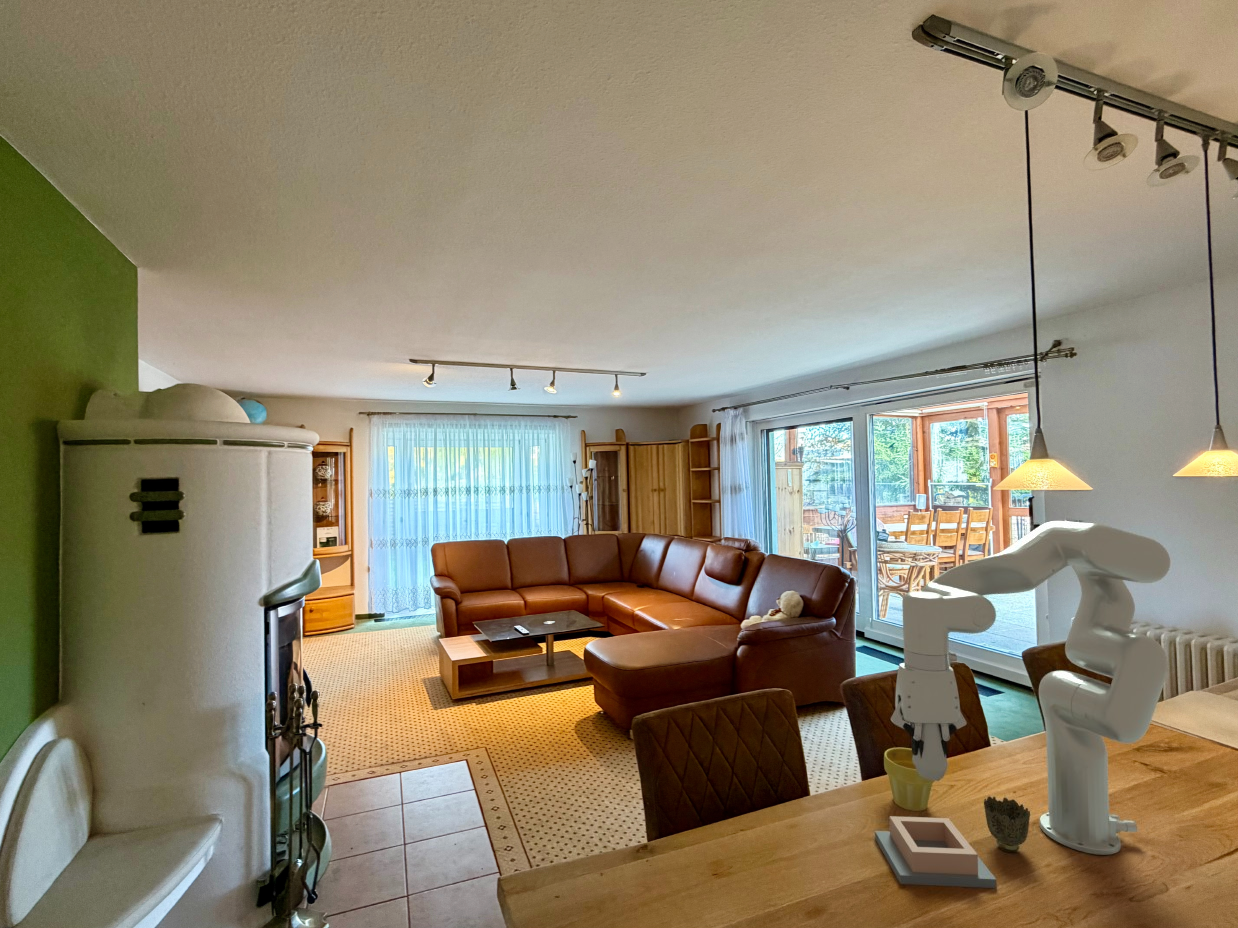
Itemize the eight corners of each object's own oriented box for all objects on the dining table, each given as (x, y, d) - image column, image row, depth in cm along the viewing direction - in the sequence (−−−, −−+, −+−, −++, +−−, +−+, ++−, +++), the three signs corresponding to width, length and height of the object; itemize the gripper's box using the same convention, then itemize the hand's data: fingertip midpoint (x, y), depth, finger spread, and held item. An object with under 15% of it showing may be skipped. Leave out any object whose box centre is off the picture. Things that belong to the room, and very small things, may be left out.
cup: (1024, 840, 115) (1023, 798, 115) (1037, 864, 108) (1035, 819, 108) (980, 833, 117) (979, 792, 118) (990, 856, 110) (989, 812, 111)
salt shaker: (952, 784, 106) (950, 711, 106) (918, 781, 107) (915, 709, 108) (941, 768, 112) (939, 699, 112) (909, 766, 113) (907, 697, 113)
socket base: (960, 841, 115) (959, 815, 115) (996, 887, 102) (995, 858, 102) (875, 838, 116) (874, 812, 116) (900, 883, 103) (899, 854, 104)
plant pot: (949, 810, 126) (947, 764, 126) (911, 820, 122) (910, 773, 122) (909, 786, 135) (908, 743, 136) (874, 795, 132) (873, 751, 132)
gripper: (962, 653, 113) (965, 750, 113) (874, 653, 115) (877, 748, 114) (982, 666, 106) (986, 770, 105) (888, 665, 107) (891, 768, 107)
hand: (929, 758), depth 110 cm, fingers closed on salt shaker, 3 cm apart
